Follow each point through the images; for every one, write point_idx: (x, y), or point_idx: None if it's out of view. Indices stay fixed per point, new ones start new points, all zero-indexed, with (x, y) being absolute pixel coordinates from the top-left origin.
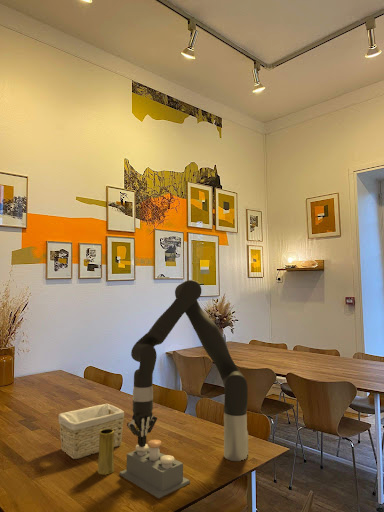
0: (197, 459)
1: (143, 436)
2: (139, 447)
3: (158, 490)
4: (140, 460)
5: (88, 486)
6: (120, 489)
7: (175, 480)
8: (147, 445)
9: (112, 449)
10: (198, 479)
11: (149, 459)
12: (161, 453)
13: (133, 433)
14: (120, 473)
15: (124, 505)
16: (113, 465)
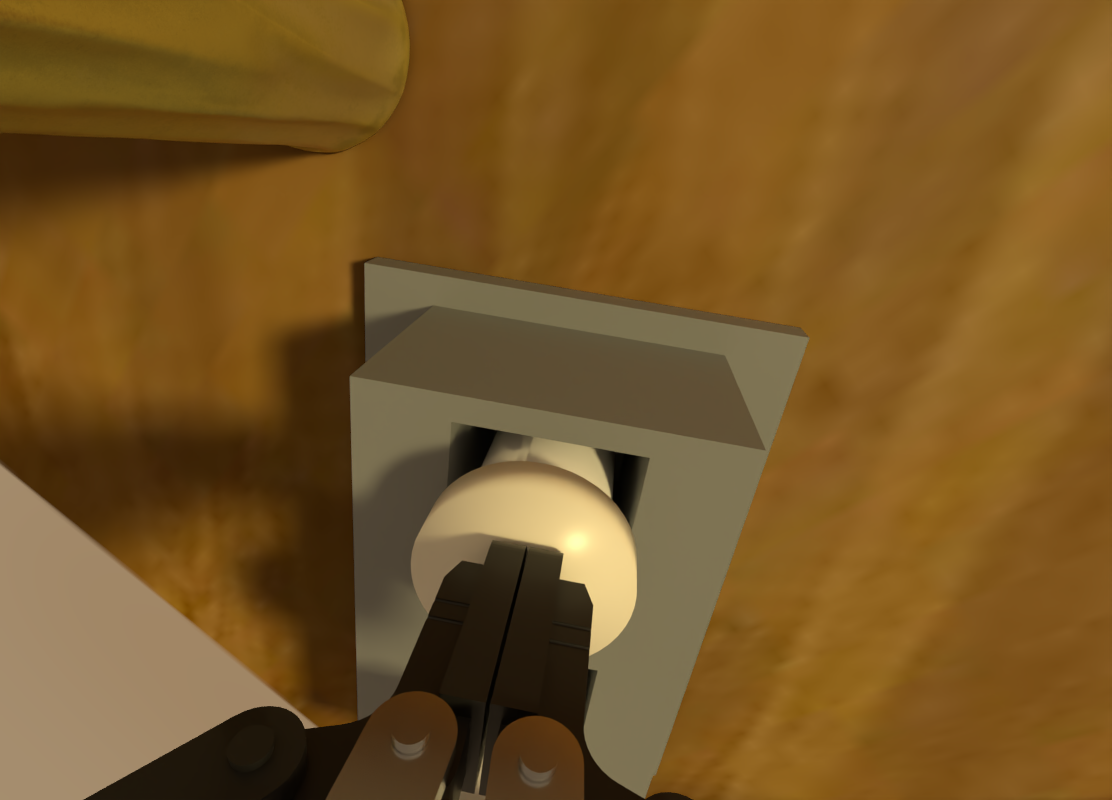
0: (1101, 659)
1: (467, 788)
2: None
3: None
4: (360, 629)
5: (31, 177)
6: (246, 447)
7: None
8: (600, 628)
9: (144, 130)
10: (736, 774)
11: None
12: (666, 711)
13: (184, 772)
14: (368, 277)
15: (173, 588)
16: (345, 123)
